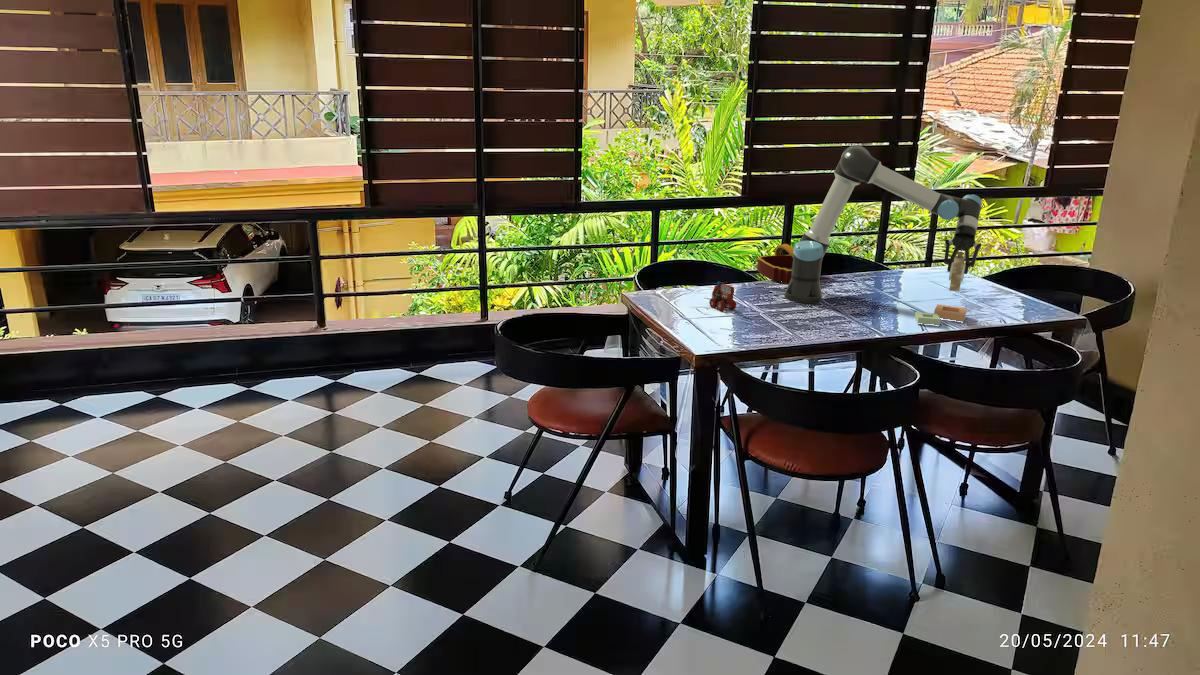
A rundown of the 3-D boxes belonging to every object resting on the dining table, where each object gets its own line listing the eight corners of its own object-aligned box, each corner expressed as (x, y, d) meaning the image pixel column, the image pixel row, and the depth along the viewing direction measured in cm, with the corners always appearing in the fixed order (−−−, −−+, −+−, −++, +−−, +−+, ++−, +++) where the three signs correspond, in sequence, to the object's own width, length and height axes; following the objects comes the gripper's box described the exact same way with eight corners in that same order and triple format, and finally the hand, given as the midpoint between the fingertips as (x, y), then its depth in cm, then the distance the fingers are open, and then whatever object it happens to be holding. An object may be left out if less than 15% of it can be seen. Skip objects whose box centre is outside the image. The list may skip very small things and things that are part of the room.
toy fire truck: (720, 303, 339) (722, 278, 336) (738, 311, 329) (740, 286, 326) (705, 305, 336) (707, 280, 333) (723, 313, 326) (726, 287, 323)
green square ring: (917, 325, 320) (918, 317, 319) (914, 319, 328) (915, 311, 327) (939, 327, 319) (940, 319, 318) (935, 321, 326) (937, 313, 325)
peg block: (949, 290, 327) (955, 252, 323) (950, 288, 330) (956, 250, 326) (958, 291, 326) (965, 253, 321) (959, 289, 329) (965, 252, 324)
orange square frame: (933, 319, 329) (934, 310, 328) (935, 312, 338) (937, 304, 337) (963, 323, 324) (964, 314, 323) (965, 316, 334) (966, 308, 333)
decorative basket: (749, 271, 407) (747, 241, 402) (808, 263, 409) (807, 233, 404) (769, 290, 376) (767, 257, 371) (832, 281, 377) (831, 249, 372)
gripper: (987, 238, 332) (978, 287, 323) (943, 233, 339) (932, 281, 330) (989, 226, 326) (979, 276, 317) (944, 222, 333) (933, 270, 323)
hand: (955, 279), depth 323 cm, fingers closed on peg block, 3 cm apart
